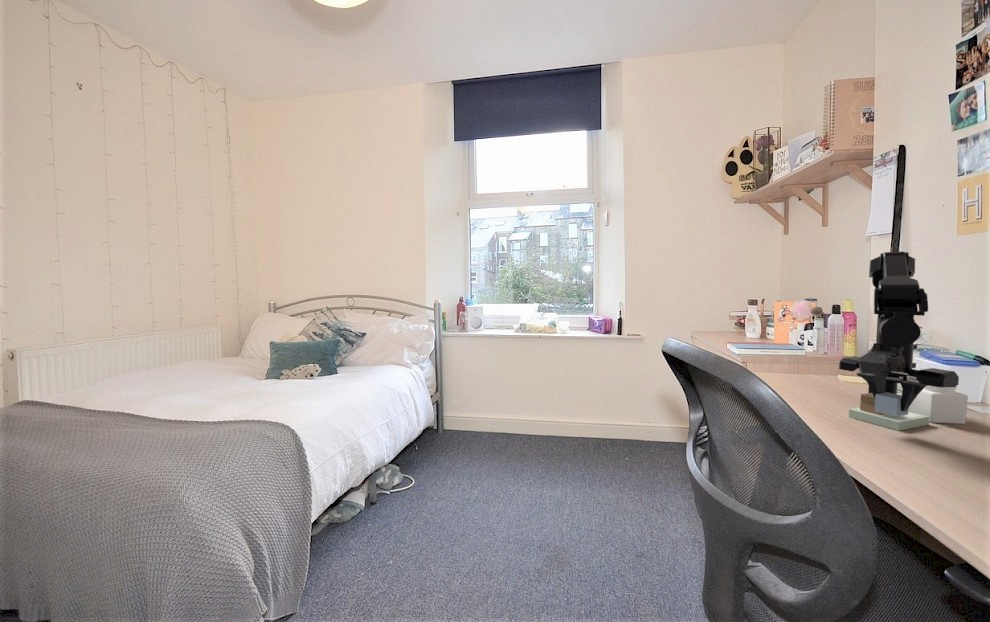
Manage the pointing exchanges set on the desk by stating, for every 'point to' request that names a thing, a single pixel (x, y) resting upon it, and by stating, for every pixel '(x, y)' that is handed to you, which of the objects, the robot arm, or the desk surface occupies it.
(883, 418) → the baseplate
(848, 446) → the desk surface
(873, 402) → the walnut cube
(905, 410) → the robot arm
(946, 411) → the medicine bottle
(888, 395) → the slate block
